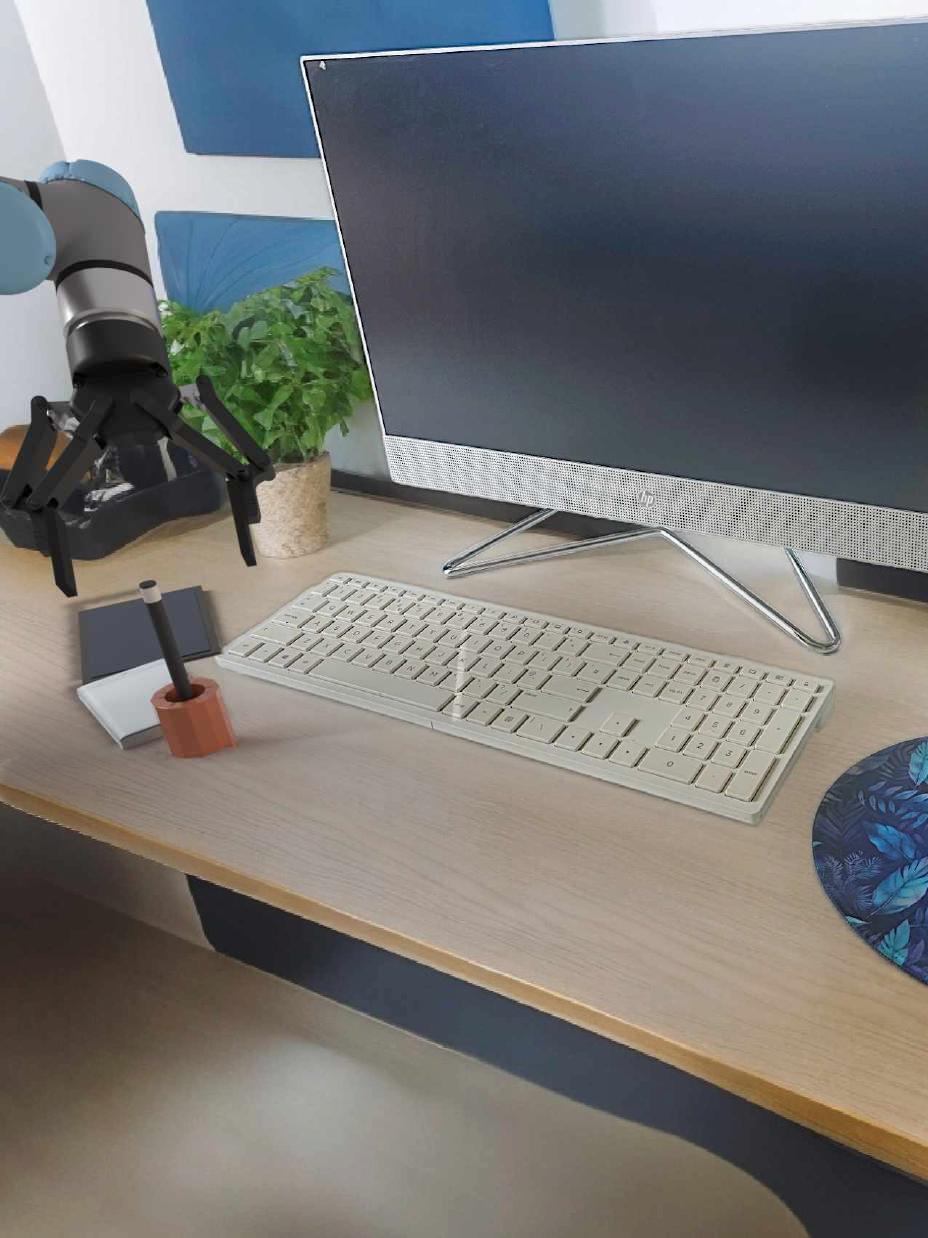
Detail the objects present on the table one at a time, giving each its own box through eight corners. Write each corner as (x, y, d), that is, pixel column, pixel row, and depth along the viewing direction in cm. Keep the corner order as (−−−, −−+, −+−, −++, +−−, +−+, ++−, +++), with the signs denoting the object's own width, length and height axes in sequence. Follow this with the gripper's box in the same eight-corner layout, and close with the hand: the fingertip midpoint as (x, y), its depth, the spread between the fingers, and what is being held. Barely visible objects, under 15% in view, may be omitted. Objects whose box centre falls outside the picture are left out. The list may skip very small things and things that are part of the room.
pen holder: (167, 776, 96) (143, 711, 92) (182, 744, 100) (160, 681, 97) (231, 768, 96) (210, 704, 93) (243, 736, 100) (223, 674, 97)
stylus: (195, 755, 97) (136, 587, 89) (198, 747, 98) (140, 580, 90) (210, 753, 97) (153, 585, 89) (214, 746, 98) (157, 578, 90)
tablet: (222, 657, 113) (220, 650, 113) (84, 691, 109) (81, 683, 108) (202, 590, 127) (200, 583, 127) (79, 617, 123) (77, 610, 122)
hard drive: (217, 702, 102) (167, 655, 111) (118, 738, 98) (74, 686, 106) (222, 719, 103) (172, 670, 111) (124, 755, 99) (80, 702, 107)
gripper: (279, 347, 106) (327, 565, 102) (-32, 386, 100) (6, 621, 95) (263, 296, 99) (314, 528, 95) (-72, 334, 92) (-34, 585, 88)
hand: (159, 575), depth 95 cm, fingers open, 13 cm apart
